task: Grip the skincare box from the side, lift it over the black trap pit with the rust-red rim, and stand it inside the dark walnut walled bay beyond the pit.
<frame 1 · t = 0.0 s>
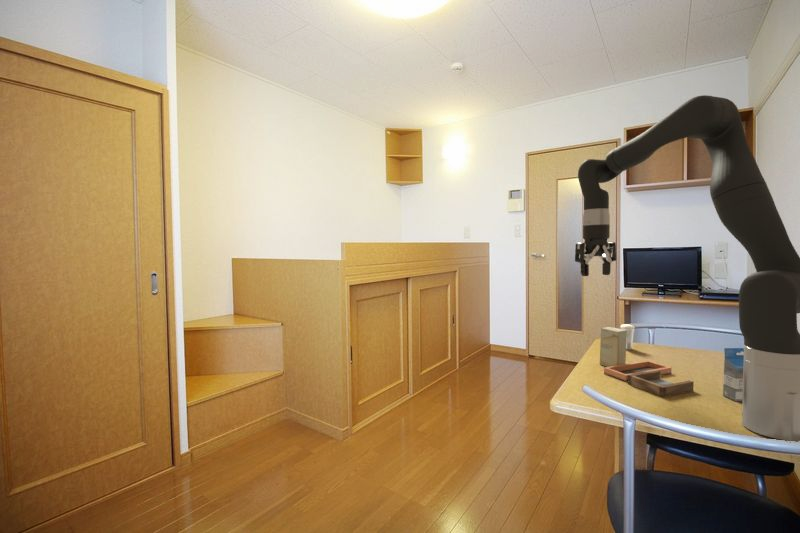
hand: (595, 275, 119), 29 cm above the table, tool pointing down, fingers open, 8 cm apart
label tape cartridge: (746, 399, 94), on the table
milkshake: (628, 349, 139), on the table
trap pit: (637, 373, 113), on the table
walled bay: (661, 387, 102), on the table
skincare box: (612, 366, 120), on the table
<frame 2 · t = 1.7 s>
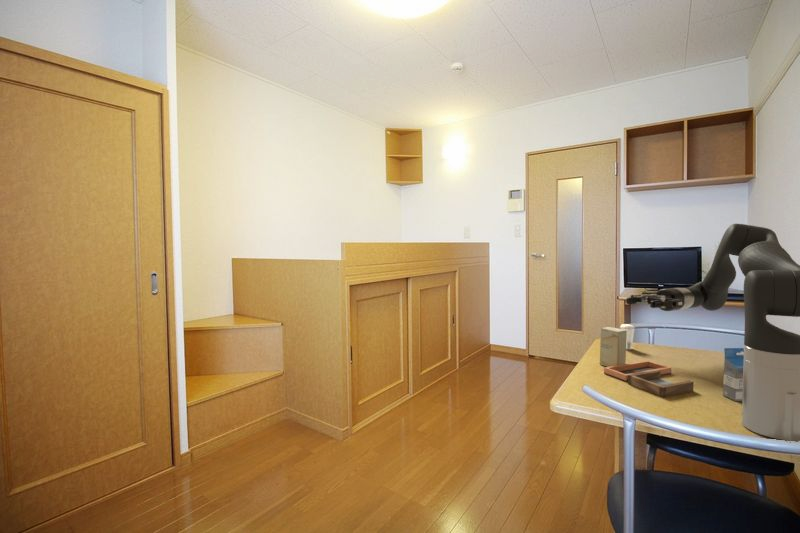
hand: (639, 302, 123), 20 cm above the table, tool horizontal, fingers open, 8 cm apart
nothing on the table moved.
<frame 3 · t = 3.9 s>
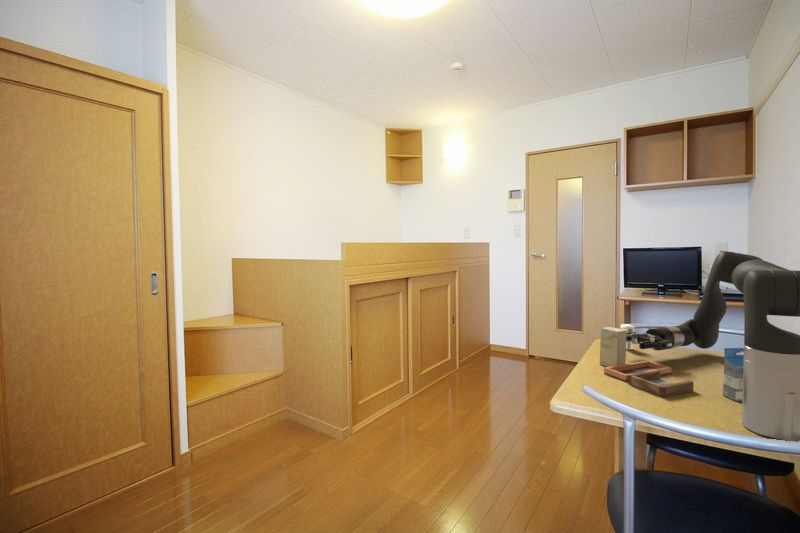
hand: (628, 342, 122), 7 cm above the table, tool horizontal, fingers open, 8 cm apart
nothing on the table moved.
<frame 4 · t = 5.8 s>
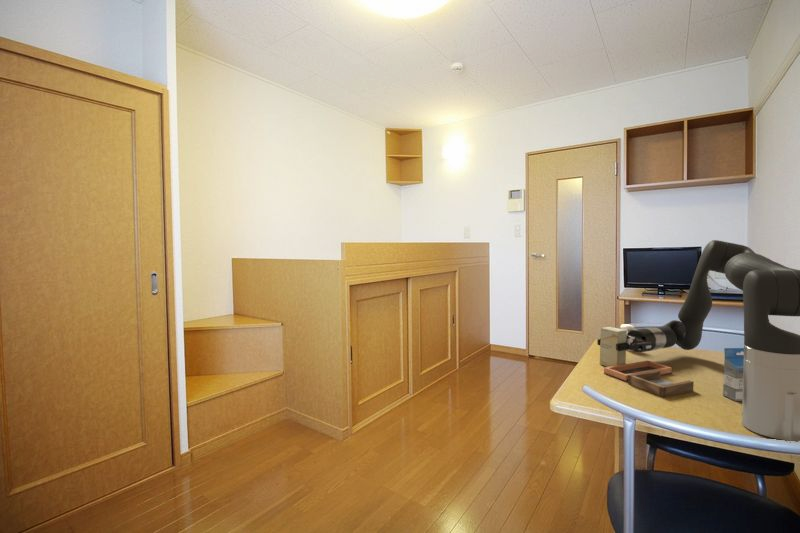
hand: (607, 344, 119), 7 cm above the table, tool horizontal, fingers closed on skincare box, 6 cm apart
skincare box: (612, 366, 120), on the table, touching gripper
everything else where it was.
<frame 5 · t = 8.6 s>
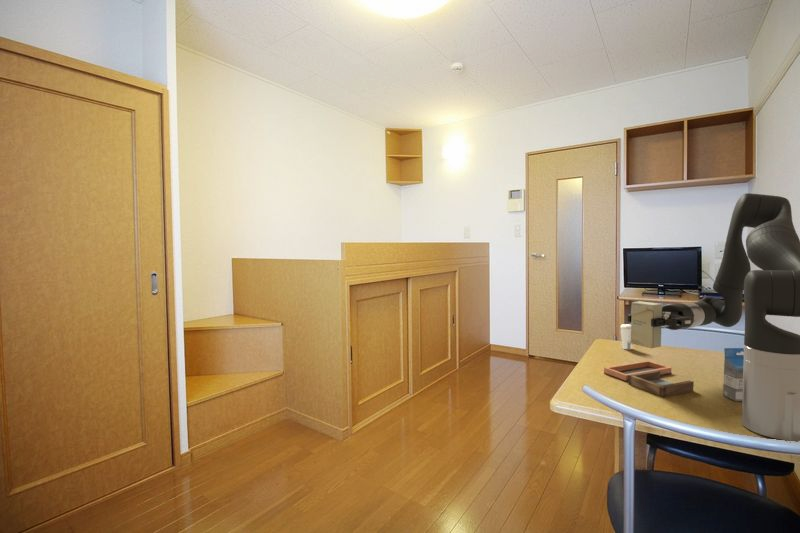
hand: (640, 320, 105), 18 cm above the table, tool horizontal, fingers closed on skincare box, 6 cm apart
skincare box: (646, 346, 106), point 10 cm above the table, touching gripper
everything else where it was.
when the fingers open (9 cm above the table, at t = 11.3 s): skincare box drops 1 cm, resting on walled bay.
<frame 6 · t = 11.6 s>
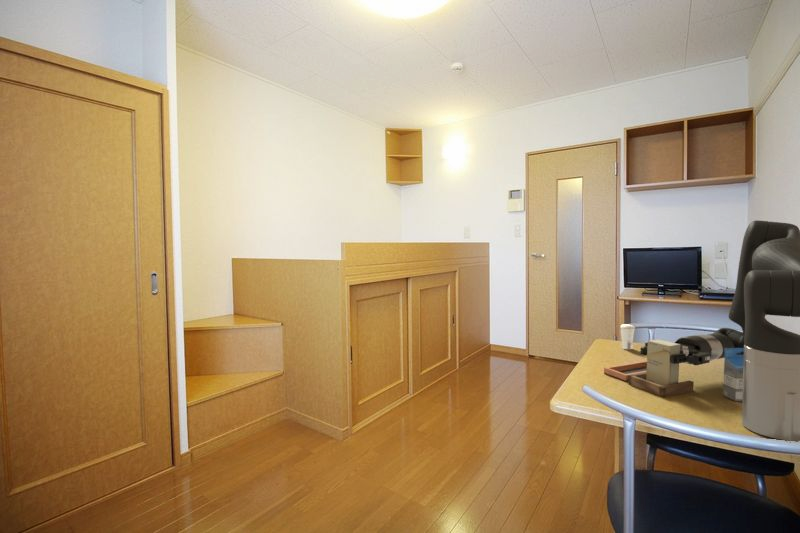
hand: (656, 355, 101), 9 cm above the table, tool horizontal, fingers open, 8 cm apart
skincare box: (662, 386, 102), resting on walled bay
everything else where it was.
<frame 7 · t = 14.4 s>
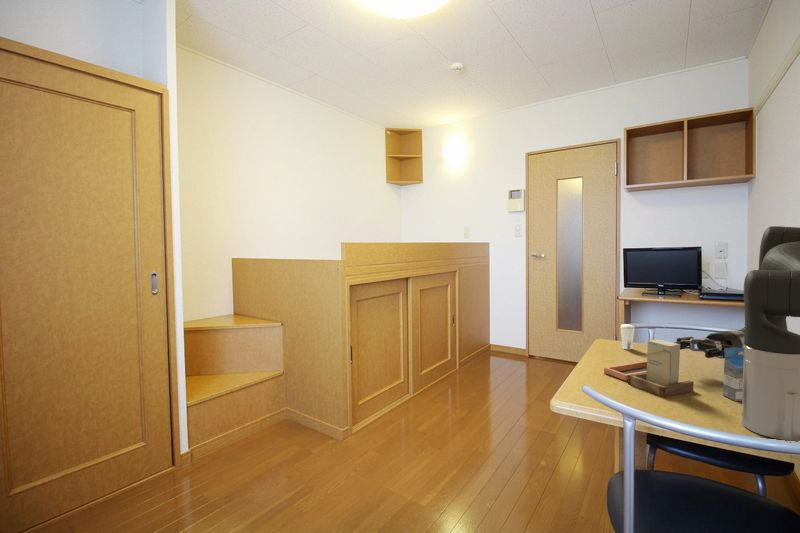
hand: (690, 350, 105), 9 cm above the table, tool horizontal, fingers open, 8 cm apart
nothing on the table moved.
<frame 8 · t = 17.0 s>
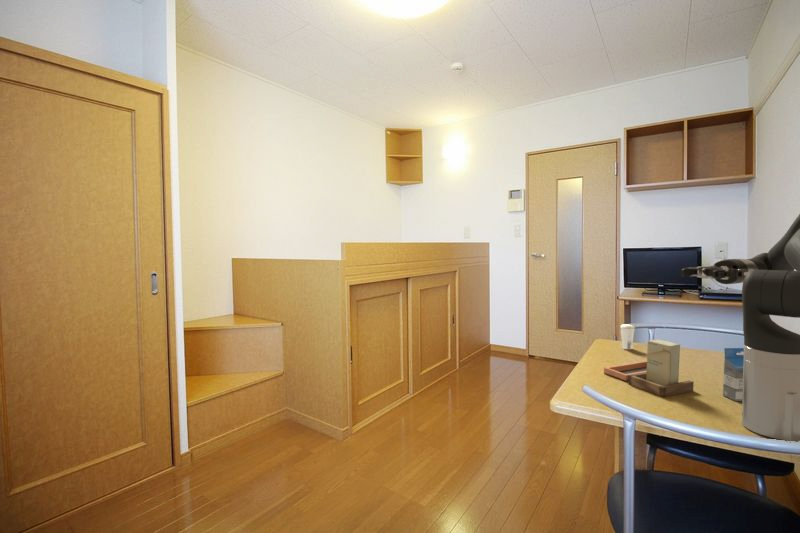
hand: (697, 273, 109), 30 cm above the table, tool horizontal, fingers open, 8 cm apart
nothing on the table moved.
at the end: skincare box 0.3 cm off-centre on the walled bay, point 0.1 cm above the walled bay's base; skincare box tilted 0°; skincare box touching walled bay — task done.
